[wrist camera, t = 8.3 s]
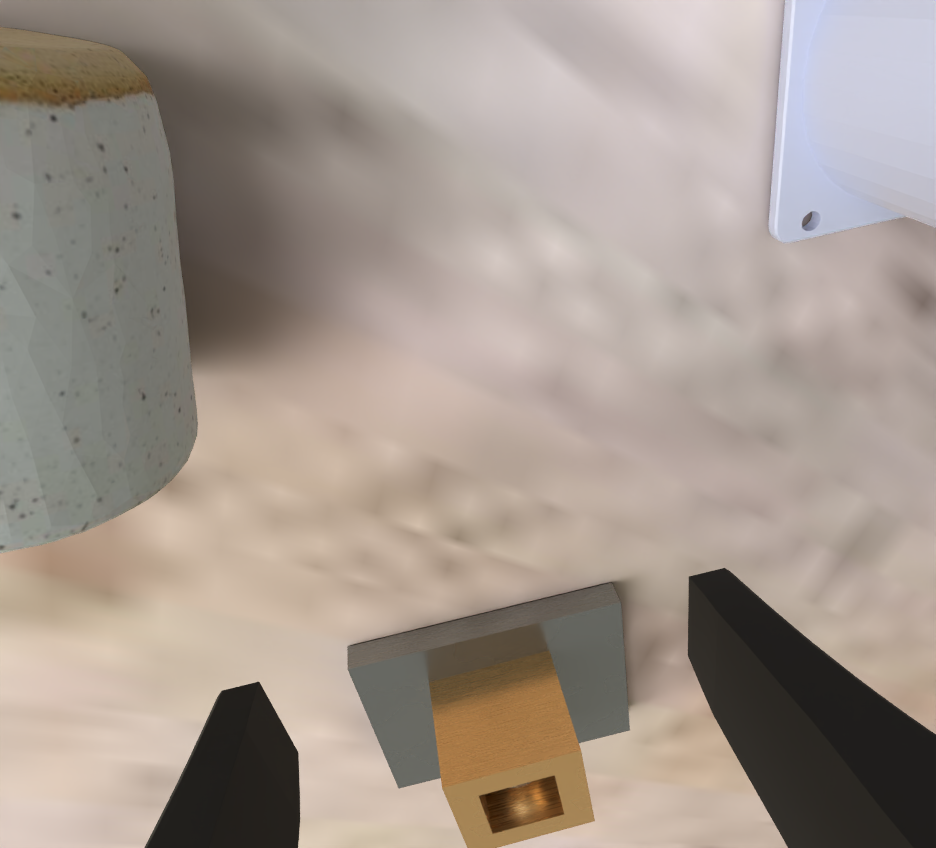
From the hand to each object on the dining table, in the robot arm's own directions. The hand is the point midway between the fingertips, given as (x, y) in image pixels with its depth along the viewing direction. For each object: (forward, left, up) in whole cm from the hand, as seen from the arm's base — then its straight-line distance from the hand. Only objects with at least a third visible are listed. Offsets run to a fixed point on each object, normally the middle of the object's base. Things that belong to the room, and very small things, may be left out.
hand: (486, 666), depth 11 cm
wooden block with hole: (0, +14, -9) cm, 17 cm away
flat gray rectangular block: (0, +14, -10) cm, 17 cm away
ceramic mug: (+9, -7, -10) cm, 15 cm away
